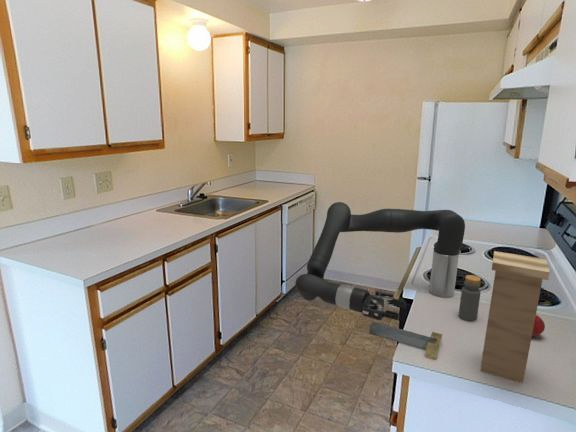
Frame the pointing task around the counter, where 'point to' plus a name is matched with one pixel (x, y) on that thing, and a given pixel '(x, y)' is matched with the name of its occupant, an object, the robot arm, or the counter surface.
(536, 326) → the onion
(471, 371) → the counter surface
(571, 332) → the counter surface
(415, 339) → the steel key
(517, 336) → the wooden stand
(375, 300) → the robot arm
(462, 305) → the bottle
